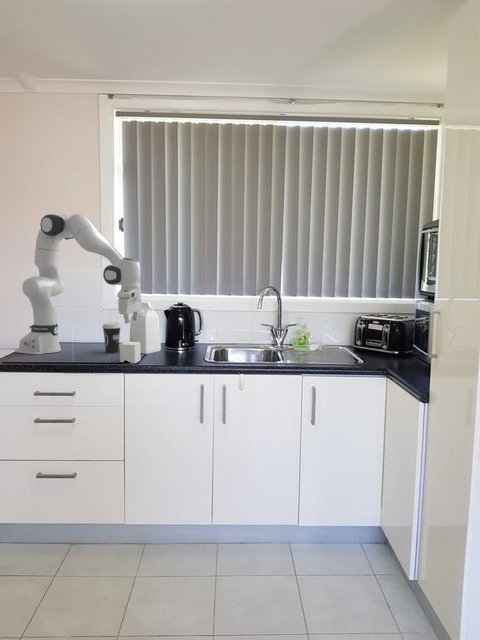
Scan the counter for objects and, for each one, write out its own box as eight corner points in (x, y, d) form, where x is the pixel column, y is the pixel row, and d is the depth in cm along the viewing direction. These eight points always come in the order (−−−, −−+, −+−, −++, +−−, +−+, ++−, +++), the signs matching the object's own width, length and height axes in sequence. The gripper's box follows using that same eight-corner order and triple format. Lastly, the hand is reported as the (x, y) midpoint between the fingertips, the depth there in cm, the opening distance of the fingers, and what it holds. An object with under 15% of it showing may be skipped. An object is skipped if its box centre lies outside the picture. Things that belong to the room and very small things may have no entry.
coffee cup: (110, 354, 234) (109, 325, 232) (98, 351, 240) (98, 323, 238) (125, 351, 242) (124, 323, 240) (113, 349, 247) (113, 321, 245)
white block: (120, 362, 215) (119, 344, 214) (126, 359, 223) (125, 341, 221) (134, 363, 214) (134, 344, 213) (140, 360, 221) (140, 342, 220)
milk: (160, 350, 246) (160, 302, 243) (146, 354, 236) (145, 303, 233) (144, 347, 252) (143, 301, 249) (129, 351, 242) (128, 302, 239)
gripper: (132, 291, 225) (133, 318, 227) (115, 294, 205) (115, 324, 207) (145, 291, 224) (145, 319, 226) (129, 294, 204) (129, 325, 206)
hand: (131, 321), depth 216 cm, fingers open, 8 cm apart
